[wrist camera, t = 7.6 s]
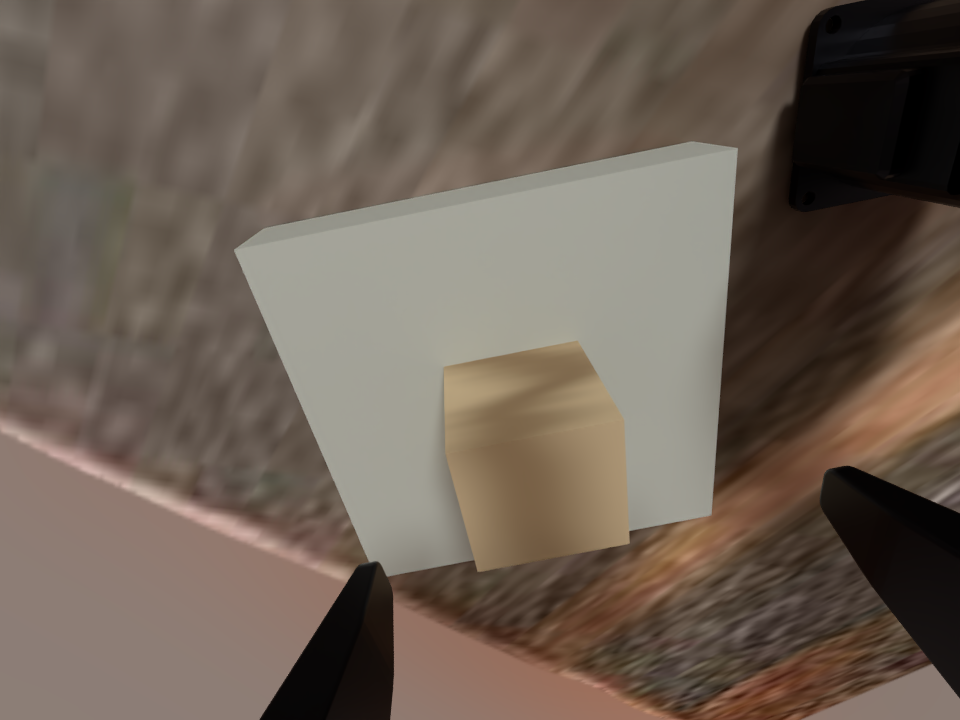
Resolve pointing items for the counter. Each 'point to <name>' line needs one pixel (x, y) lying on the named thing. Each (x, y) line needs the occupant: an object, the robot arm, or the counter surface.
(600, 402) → the pine cube
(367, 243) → the plinth
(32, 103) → the counter surface
